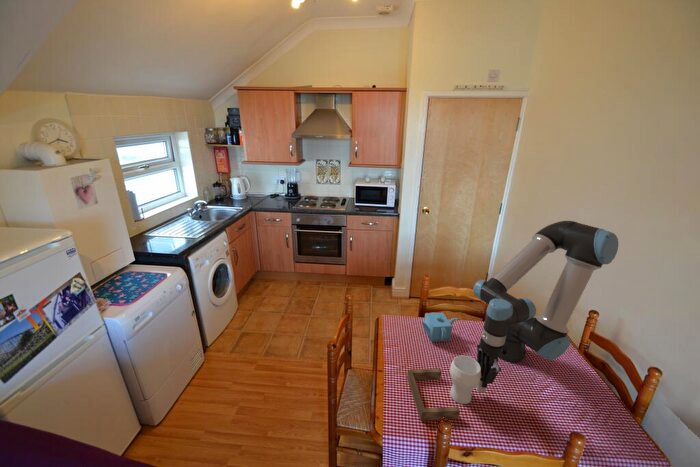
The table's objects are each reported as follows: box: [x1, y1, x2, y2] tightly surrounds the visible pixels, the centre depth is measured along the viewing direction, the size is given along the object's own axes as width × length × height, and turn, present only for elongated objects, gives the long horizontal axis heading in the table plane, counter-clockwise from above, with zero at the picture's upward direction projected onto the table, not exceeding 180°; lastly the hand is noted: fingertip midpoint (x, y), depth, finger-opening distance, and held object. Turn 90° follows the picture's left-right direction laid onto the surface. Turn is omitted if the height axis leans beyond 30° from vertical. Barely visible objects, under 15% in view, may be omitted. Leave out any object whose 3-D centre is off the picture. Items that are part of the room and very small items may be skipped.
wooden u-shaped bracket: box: [406, 368, 461, 422], centre depth 113 cm, size 14×19×4 cm
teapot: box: [420, 312, 458, 343], centre depth 145 cm, size 16×18×11 cm
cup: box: [449, 354, 481, 405], centre depth 112 cm, size 11×11×15 cm
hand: (480, 390), depth 115 cm, fingers closed
